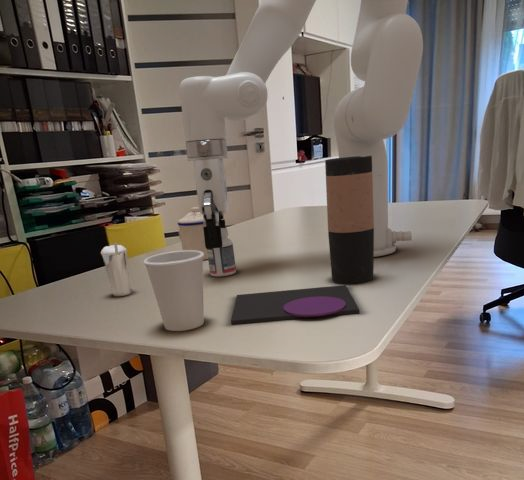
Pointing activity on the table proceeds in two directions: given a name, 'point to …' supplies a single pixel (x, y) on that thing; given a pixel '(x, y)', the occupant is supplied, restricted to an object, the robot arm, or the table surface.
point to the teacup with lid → (193, 232)
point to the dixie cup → (178, 288)
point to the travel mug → (350, 218)
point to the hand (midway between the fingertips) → (216, 243)
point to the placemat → (293, 304)
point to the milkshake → (117, 269)
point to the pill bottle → (222, 257)
